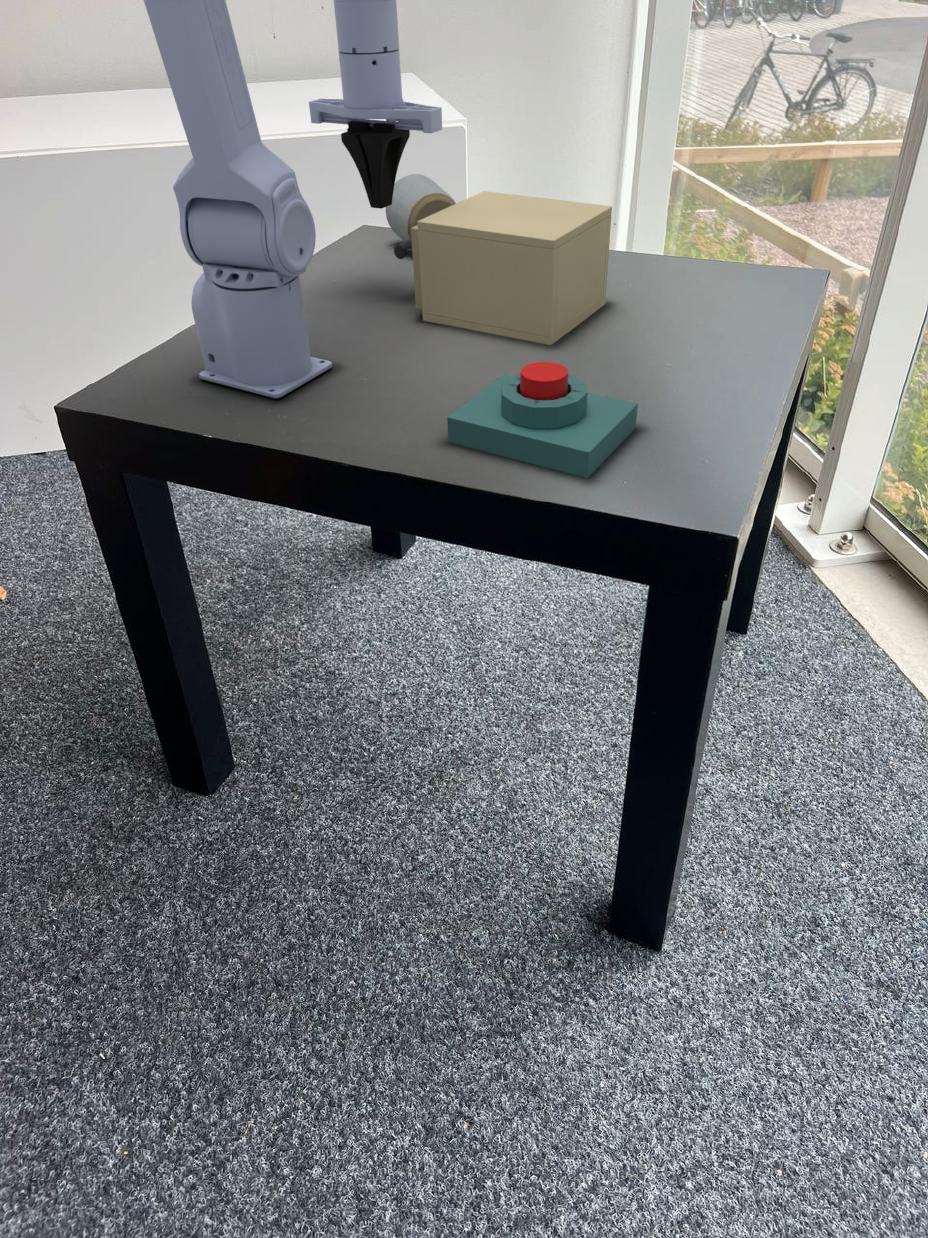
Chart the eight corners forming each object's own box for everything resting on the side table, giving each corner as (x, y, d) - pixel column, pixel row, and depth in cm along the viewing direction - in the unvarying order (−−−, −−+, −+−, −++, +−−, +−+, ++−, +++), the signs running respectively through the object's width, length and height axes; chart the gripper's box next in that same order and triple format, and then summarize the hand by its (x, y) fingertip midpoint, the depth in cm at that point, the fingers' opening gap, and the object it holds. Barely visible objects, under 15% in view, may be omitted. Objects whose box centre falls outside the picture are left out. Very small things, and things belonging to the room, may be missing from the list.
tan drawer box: (422, 320, 90) (416, 220, 84) (484, 283, 98) (483, 190, 92) (550, 345, 84) (554, 240, 78) (605, 304, 92) (612, 205, 86)
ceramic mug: (410, 261, 105) (406, 191, 101) (386, 243, 111) (382, 176, 107) (490, 249, 109) (490, 181, 104) (463, 232, 115) (462, 167, 110)
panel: (448, 442, 69) (445, 394, 67) (503, 398, 75) (503, 353, 73) (587, 479, 64) (590, 428, 62) (635, 428, 70) (640, 381, 68)
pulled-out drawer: (382, 301, 92) (375, 222, 87) (440, 270, 100) (437, 195, 95) (532, 330, 85) (534, 245, 80) (583, 294, 92) (587, 214, 87)
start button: (511, 396, 67) (511, 375, 66) (533, 379, 70) (534, 358, 68) (554, 406, 66) (555, 384, 65) (575, 388, 68) (576, 366, 67)
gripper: (456, 47, 83) (461, 204, 91) (333, 43, 89) (348, 189, 97) (415, 57, 78) (423, 220, 86) (288, 51, 84) (307, 204, 93)
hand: (381, 205), depth 92 cm, fingers closed
